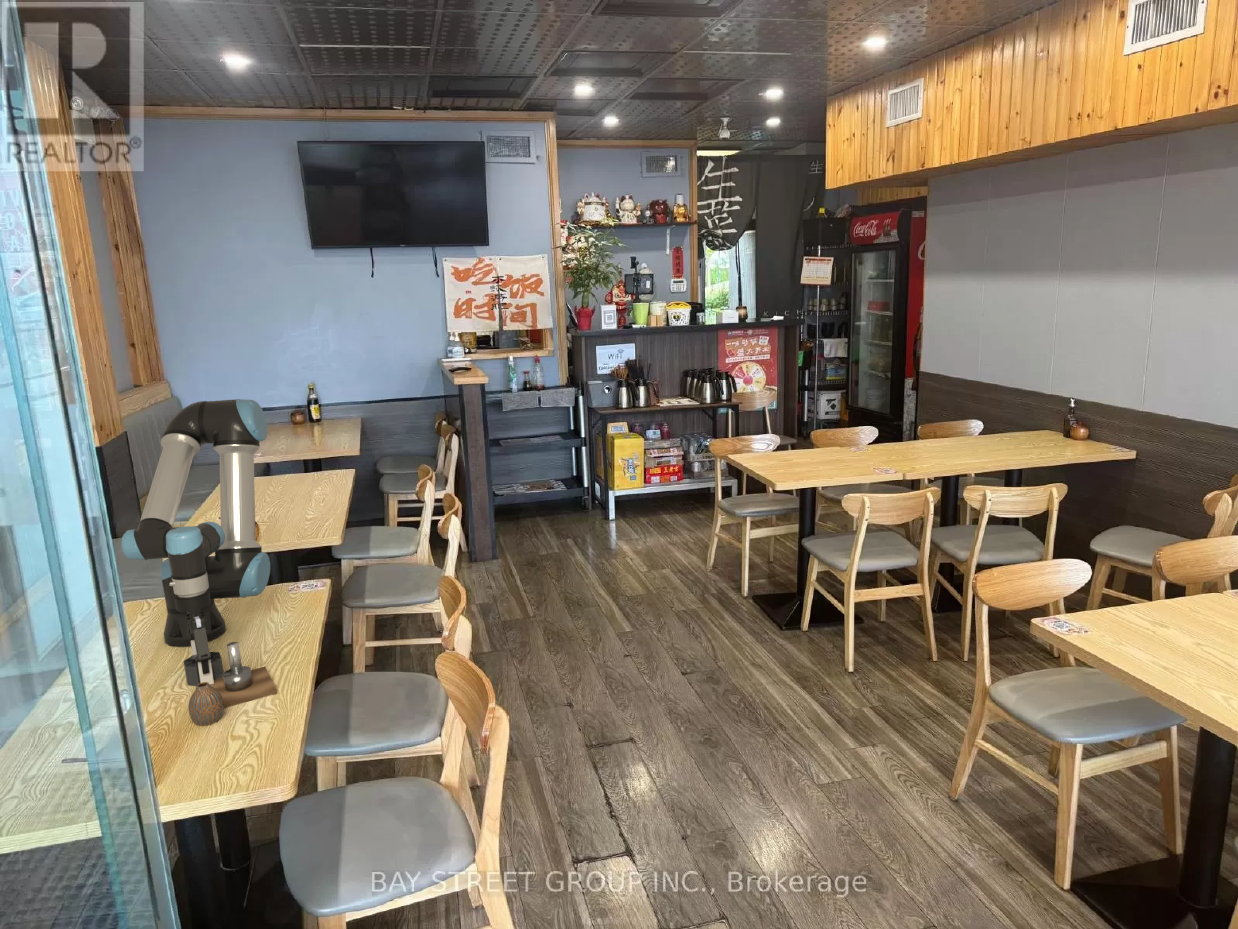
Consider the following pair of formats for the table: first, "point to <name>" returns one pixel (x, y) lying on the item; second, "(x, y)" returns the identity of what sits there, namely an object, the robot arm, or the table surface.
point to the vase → (205, 704)
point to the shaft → (236, 671)
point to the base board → (257, 690)
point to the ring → (193, 670)
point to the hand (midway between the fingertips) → (203, 674)
